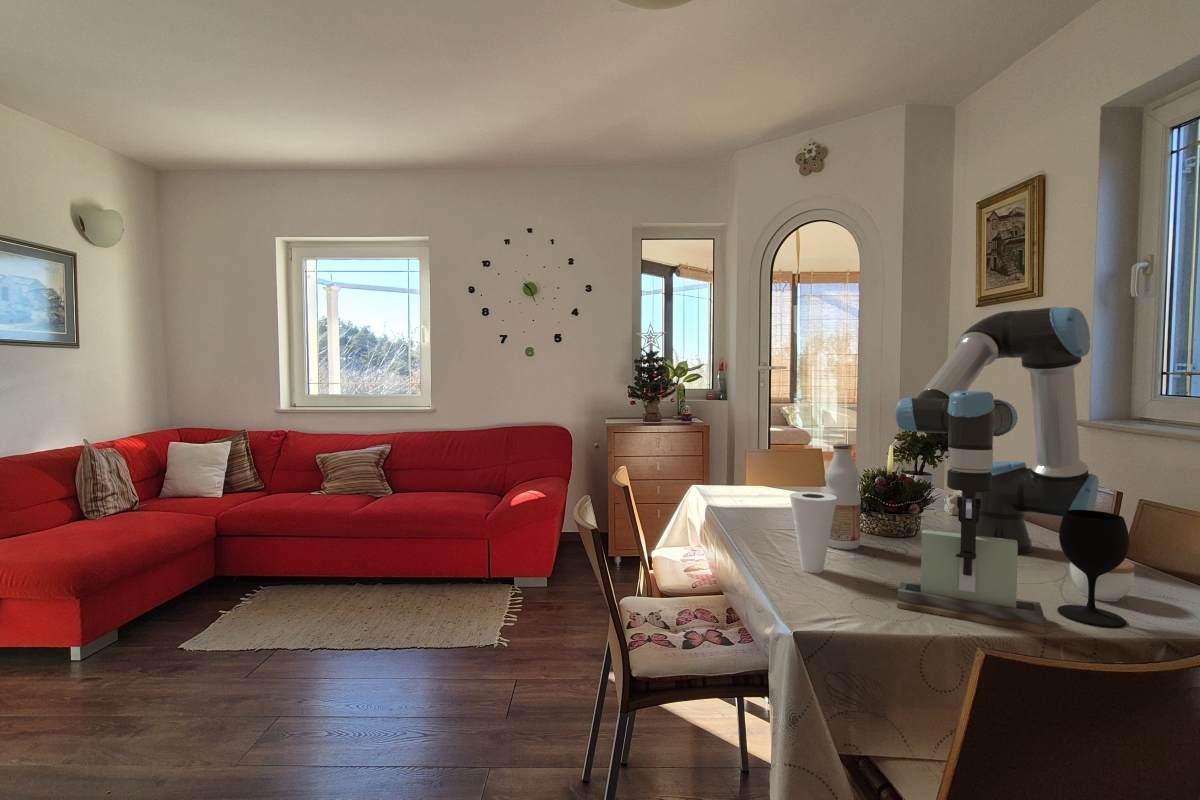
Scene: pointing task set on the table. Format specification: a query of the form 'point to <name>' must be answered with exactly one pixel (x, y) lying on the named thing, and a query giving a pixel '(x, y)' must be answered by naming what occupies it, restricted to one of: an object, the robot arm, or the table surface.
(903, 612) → the table surface
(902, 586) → the door track
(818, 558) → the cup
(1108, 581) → the lidded jar
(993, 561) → the door panel
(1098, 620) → the wine glass
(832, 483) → the fruit juice
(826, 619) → the table surface
